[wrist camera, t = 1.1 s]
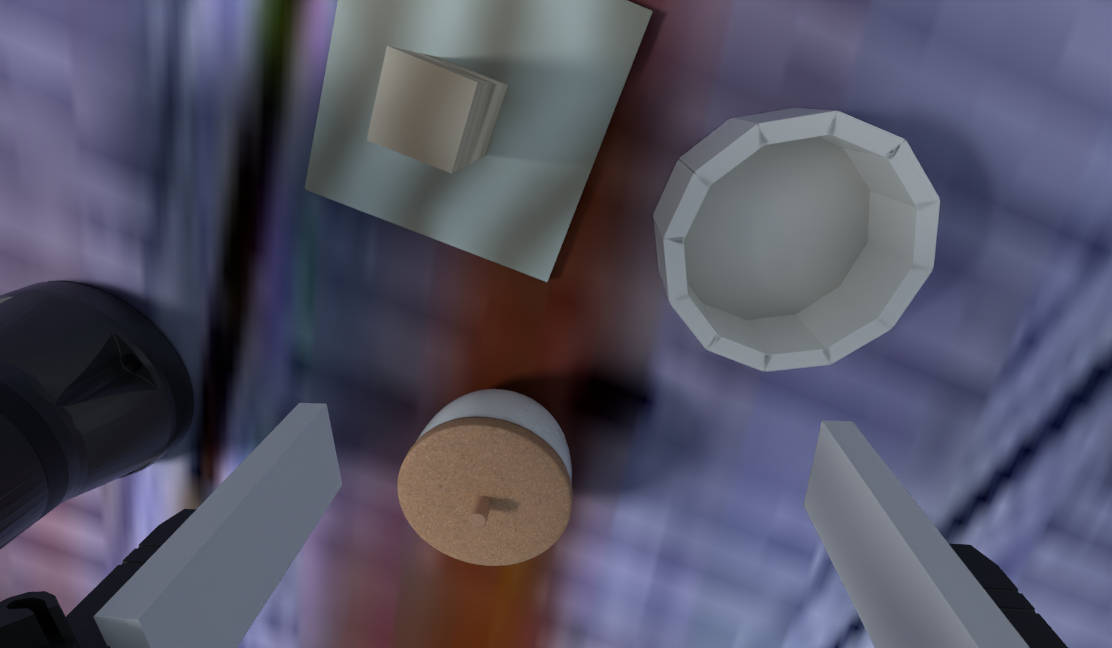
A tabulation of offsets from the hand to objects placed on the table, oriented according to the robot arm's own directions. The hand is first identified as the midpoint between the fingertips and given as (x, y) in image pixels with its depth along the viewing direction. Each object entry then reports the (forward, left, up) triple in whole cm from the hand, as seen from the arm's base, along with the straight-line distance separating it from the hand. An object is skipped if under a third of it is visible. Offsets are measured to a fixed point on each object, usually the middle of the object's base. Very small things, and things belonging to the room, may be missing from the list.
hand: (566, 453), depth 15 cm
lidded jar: (-1, -15, -22) cm, 26 cm away
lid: (-10, +5, -22) cm, 24 cm away
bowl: (+9, +5, -21) cm, 24 cm away
